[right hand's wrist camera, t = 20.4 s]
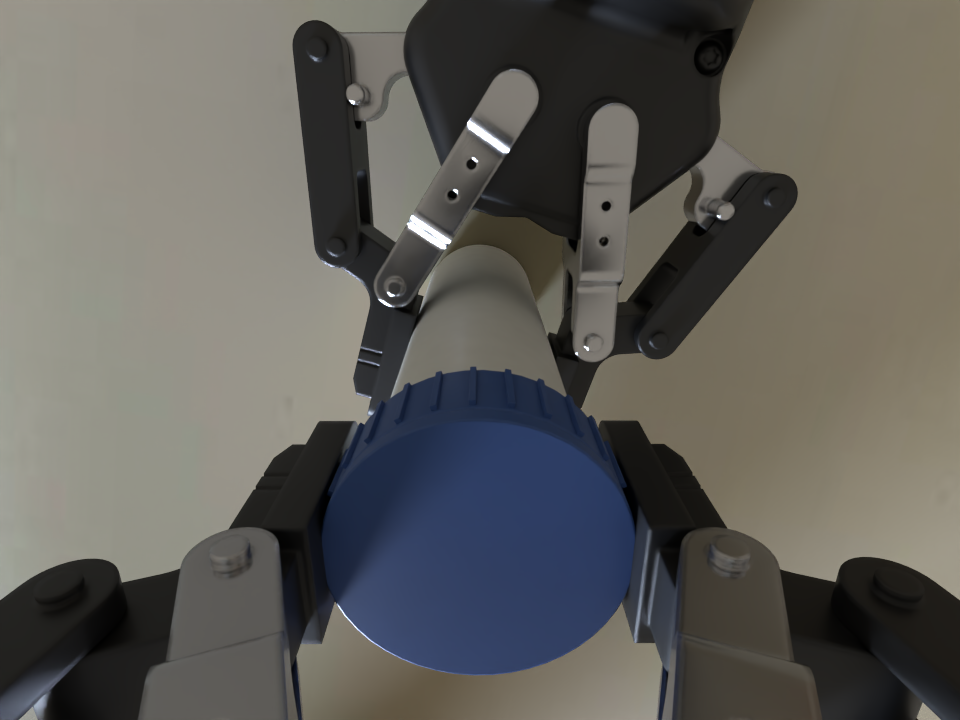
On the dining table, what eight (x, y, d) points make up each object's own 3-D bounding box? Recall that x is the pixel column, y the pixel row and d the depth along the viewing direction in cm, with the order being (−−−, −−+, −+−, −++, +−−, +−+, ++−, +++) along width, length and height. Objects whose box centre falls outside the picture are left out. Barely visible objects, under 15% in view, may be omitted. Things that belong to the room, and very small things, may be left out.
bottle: (418, 329, 25) (334, 595, 11) (441, 232, 23) (382, 388, 9) (513, 354, 25) (558, 641, 11) (543, 259, 24) (640, 451, 9)
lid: (666, 517, 11) (701, 591, 9) (450, 635, 12) (445, 720, 11) (516, 306, 10) (523, 346, 8) (284, 463, 11) (245, 528, 9)
